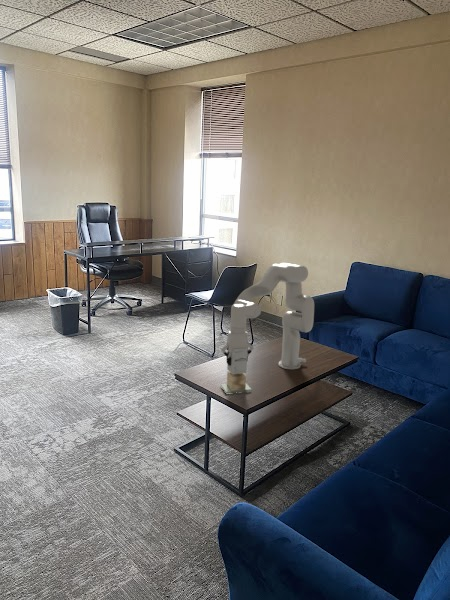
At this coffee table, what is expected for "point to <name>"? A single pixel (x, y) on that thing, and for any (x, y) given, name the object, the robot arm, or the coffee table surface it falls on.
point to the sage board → (228, 390)
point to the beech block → (236, 381)
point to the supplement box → (238, 361)
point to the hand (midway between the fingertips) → (237, 363)
